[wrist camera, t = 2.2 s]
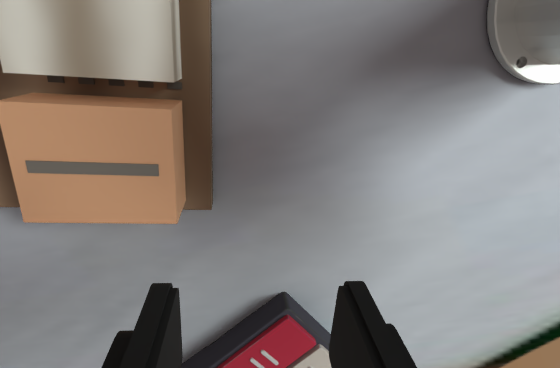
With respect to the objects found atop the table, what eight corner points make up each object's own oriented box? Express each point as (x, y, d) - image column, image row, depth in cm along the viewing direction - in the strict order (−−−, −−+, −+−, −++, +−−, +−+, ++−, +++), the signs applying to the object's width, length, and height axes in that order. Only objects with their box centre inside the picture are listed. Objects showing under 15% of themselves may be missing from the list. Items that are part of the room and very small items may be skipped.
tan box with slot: (181, 100, 25) (170, 110, 21) (185, 200, 28) (176, 224, 24) (33, 92, 23) (-7, 101, 20) (54, 197, 26) (23, 223, 23)
